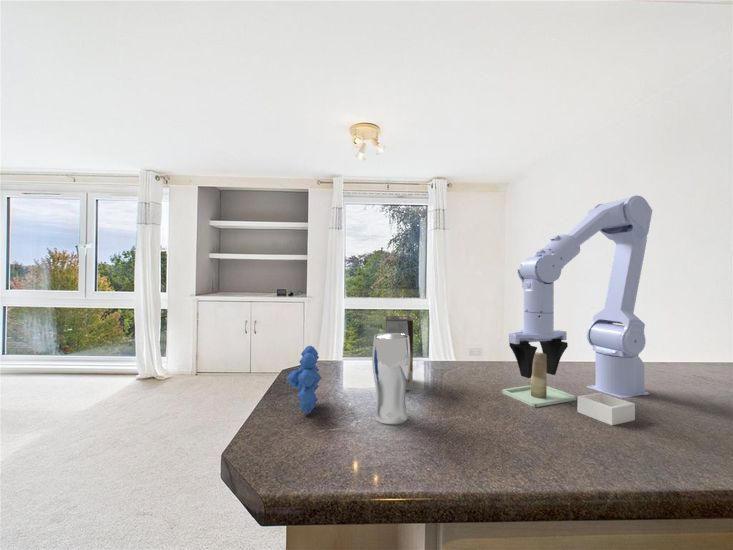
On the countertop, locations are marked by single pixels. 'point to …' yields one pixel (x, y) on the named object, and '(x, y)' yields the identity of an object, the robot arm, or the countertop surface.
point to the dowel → (539, 376)
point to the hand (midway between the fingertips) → (538, 375)
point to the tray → (525, 397)
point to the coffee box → (403, 327)
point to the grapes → (306, 379)
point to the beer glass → (391, 376)
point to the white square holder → (606, 408)
